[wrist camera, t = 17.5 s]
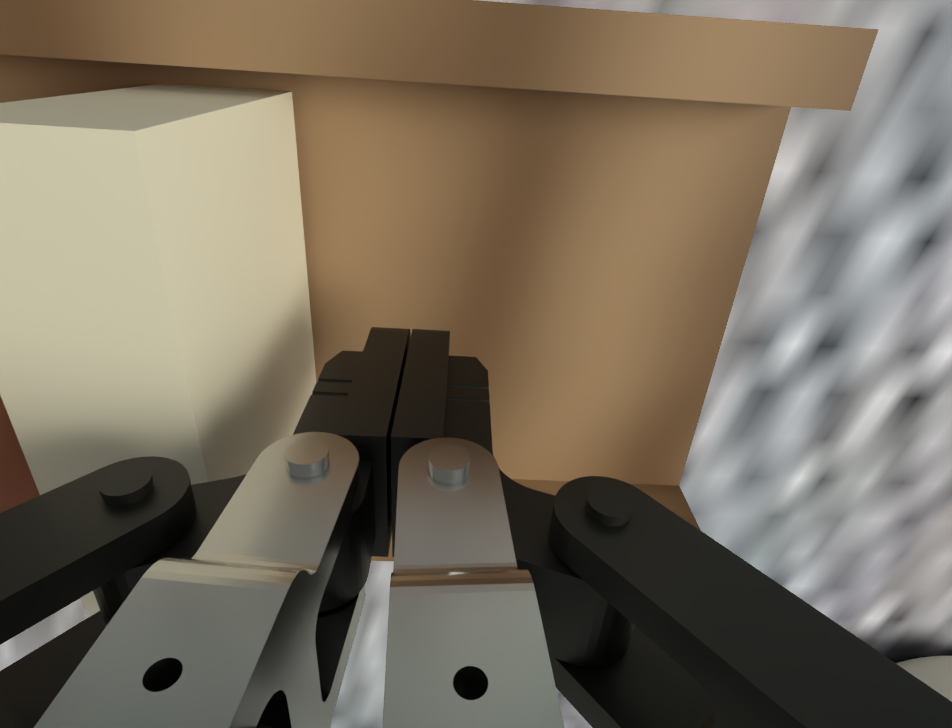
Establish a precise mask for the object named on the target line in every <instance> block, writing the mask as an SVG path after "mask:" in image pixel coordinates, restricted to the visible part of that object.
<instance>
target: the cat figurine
mask: <svg viewBox="0 0 952 728" xmlns="http://www.w3.org/2000/svg"><path fill="white" fill-rule="evenodd" d="M896 664H897V665H899V666H900V667H902V668H903V669H905V670H906V671H907V672H909V673H910V674H912V675H913V676H915V677H916V678H918V679H919V680H921V681H922V682H924V683H925V684H927V685H928V686H930V687H931V688H932V689H934V690H935V691H937V692H938V693H940V694H941V695H943V696H944V697H946V698H947V699H949V700H950V701H952V656H930V657H921V658H915V659H910V660H906V661H902V662H898V663H896Z"/></svg>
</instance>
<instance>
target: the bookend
mask: <svg viewBox="0 0 952 728" xmlns="http://www.w3.org/2000/svg"><path fill="white" fill-rule="evenodd" d="M315 385H316V371H315V359H314V347H313V335H312V324H311V312H310V300H309V288H308V276H307V264H306V253H305V241H304V229H303V217H302V205H301V193H300V182H299V170H298V158H297V146H296V134H295V122H294V111H293V99H292V92H291V91H276V90H260V89H245V88H229V87H214V86H199V85H183V84H168V83H164V84H155V85H147V86H139V87H130V88H122V89H113V90H105V91H97V92H88V93H80V94H71V95H63V96H55V97H46V98H38V99H29V100H21V101H13V102H4V103H0V395H1V398H2V400H3V403H4V405H5V408H6V410H7V413H8V416H9V418H10V421H11V423H12V426H13V428H14V431H15V433H16V436H17V438H18V441H19V443H20V446H21V448H22V451H23V453H24V456H25V459H26V461H27V464H28V466H29V469H30V471H31V474H32V476H33V479H34V481H35V484H36V486H37V489H38V491H39V494H40V495H42V494H44V493H46V492H49V491H51V490H53V489H55V488H58V487H60V486H62V485H64V484H67V483H69V482H71V481H73V480H75V479H78V478H80V477H82V476H84V475H87V474H89V473H91V472H93V471H96V470H98V469H100V468H102V467H105V466H107V465H110V464H112V463H116V462H119V461H122V460H126V459H131V458H137V457H149V456H155V457H164V458H169V459H172V460H175V461H177V462H179V463H181V464H182V465H183V466H184V467H185V468H186V469H187V471H188V473H189V477H190V481H191V485H193V484H199V483H205V482H211V481H216V480H222V479H228V478H233V477H237V476H241V475H245V474H247V473H248V472H249V470H250V468H251V467H252V465H253V464H254V462H255V461H256V459H257V458H258V456H259V455H260V454H261V452H262V451H263V450H264V449H266V448H267V447H268V446H269V445H271V444H272V443H274V442H276V441H278V440H280V439H282V438H285V437H288V436H291V435H293V433H294V431H295V428H296V426H297V424H298V422H299V420H300V417H301V415H302V413H303V411H304V409H305V406H306V404H307V402H308V400H309V398H310V395H312V391H313V389H314V387H315ZM81 600H82V603H83V605H84V608H85V610H86V613H87V615H88V618H89V617H90V616H92V615H94V614H95V613H97V612H98V611H100V608H99V606H98V603H97V600H96V598H95V595H94V592H93V591H91V592H90V593H88V594H86V595H84V596H83V597H81Z"/></svg>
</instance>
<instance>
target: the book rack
mask: <svg viewBox="0 0 952 728" xmlns="http://www.w3.org/2000/svg"><path fill="white" fill-rule="evenodd" d="M877 32H878V30H877V29H863V28H849V27H835V26H821V25H808V24H794V23H780V22H766V21H752V20H738V19H724V18H710V17H696V16H683V15H669V14H655V13H641V12H627V11H613V10H599V9H585V8H571V7H558V6H544V5H530V4H516V3H502V2H488V1H474V0H0V103H4V102H13V101H21V100H29V99H38V98H46V97H55V96H63V95H71V94H80V93H88V92H97V91H105V90H113V89H122V88H130V87H139V86H147V85H155V84H164V83H168V84H183V85H199V86H214V87H229V88H245V89H260V90H276V91H291V92H292V99H293V111H294V122H295V134H296V146H297V158H298V170H299V182H300V193H301V205H302V217H303V229H304V241H305V253H306V264H307V276H308V288H309V300H310V312H311V324H312V335H313V347H314V359H315V371H316V382H318V378H319V376H320V374H321V371H322V369H323V367H324V365H325V363H326V362H328V361H329V360H330V359H332V358H333V357H334V356H336V355H337V354H338V353H340V352H341V351H363V349H364V347H365V344H366V341H367V338H368V335H369V332H370V330H371V328H372V327H383V328H403V329H410V332H411V334H412V330H413V329H425V330H445V331H450V347H449V356H469V357H477V358H478V360H479V361H480V362H481V363H482V364H483V366H484V367H485V368H486V369H487V370H488V380H489V397H490V402H489V403H490V414H491V431H492V448H493V456H494V458H495V459H496V461H497V464H498V467H499V468H500V470H501V471H502V472H503V473H504V474H505V475H507V476H508V477H509V478H510V479H512V480H514V481H515V482H517V483H519V484H521V485H523V486H525V487H528V488H531V489H534V490H537V491H541V492H544V493H548V494H552V495H555V496H556V494H557V492H558V490H559V489H560V488H561V487H562V486H563V485H564V484H566V483H567V482H569V481H571V480H574V479H576V478H580V477H586V476H603V477H610V478H614V479H618V480H621V481H624V482H626V483H629V484H631V485H633V486H635V487H636V488H638V489H640V490H641V491H643V492H644V493H646V494H647V495H649V496H650V497H652V498H653V499H655V500H656V501H657V502H659V503H660V504H662V505H663V506H665V507H666V508H668V509H669V510H671V511H672V512H674V513H675V514H677V515H678V516H680V517H681V518H682V519H684V520H685V521H687V522H688V523H690V524H691V525H693V526H694V527H696V528H697V529H699V530H700V528H699V526H698V524H697V522H696V520H695V518H694V516H693V514H692V512H691V510H690V508H689V506H688V503H687V501H686V499H685V497H684V495H683V493H682V491H681V489H680V487H679V484H680V480H681V477H682V473H683V470H684V467H685V463H686V460H687V457H688V453H689V450H690V446H691V443H692V440H693V436H694V433H695V430H696V426H697V423H698V419H699V416H700V413H701V409H702V406H703V403H704V399H705V396H706V392H707V389H708V386H709V382H710V379H711V376H712V372H713V369H714V365H715V362H716V359H717V355H718V352H719V349H720V345H721V342H722V338H723V335H724V332H725V328H726V325H727V322H728V318H729V315H730V311H731V308H732V305H733V301H734V298H735V295H736V291H737V288H738V284H739V281H740V278H741V274H742V271H743V268H744V264H745V261H746V257H747V254H748V251H749V247H750V244H751V241H752V237H753V234H754V230H755V227H756V224H757V220H758V217H759V213H760V210H761V207H762V203H763V200H764V197H765V193H766V190H767V186H768V183H769V180H770V176H771V173H772V170H773V166H774V163H775V159H776V156H777V153H778V149H779V146H780V143H781V139H782V136H783V132H784V129H785V126H786V122H787V119H788V116H789V112H790V109H791V107H803V108H818V109H834V110H849V111H851V108H852V105H853V102H854V99H855V96H856V93H857V90H858V87H859V85H860V82H861V79H862V76H863V73H864V70H865V67H866V64H867V61H868V58H869V55H870V52H871V50H872V47H873V44H874V41H875V38H876V35H877ZM700 531H701V530H700ZM371 560H373V561H394V557H392V536H391V542H390V548H389V555H388V557H377V556H372V557H371Z"/></svg>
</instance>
